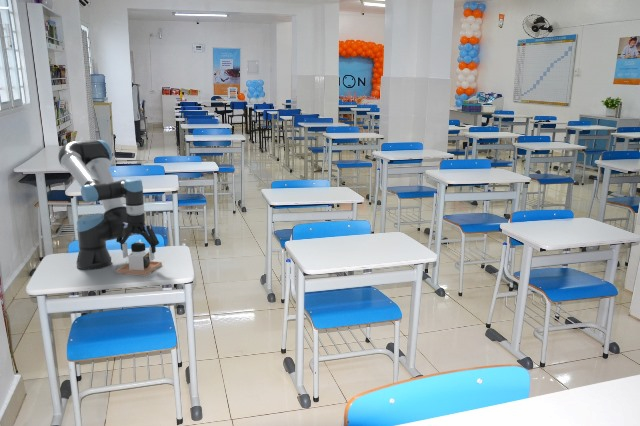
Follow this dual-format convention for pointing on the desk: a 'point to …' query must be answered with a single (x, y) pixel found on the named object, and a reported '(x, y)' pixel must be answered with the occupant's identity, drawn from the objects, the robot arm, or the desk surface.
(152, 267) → the tray
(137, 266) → the medicine bottle
